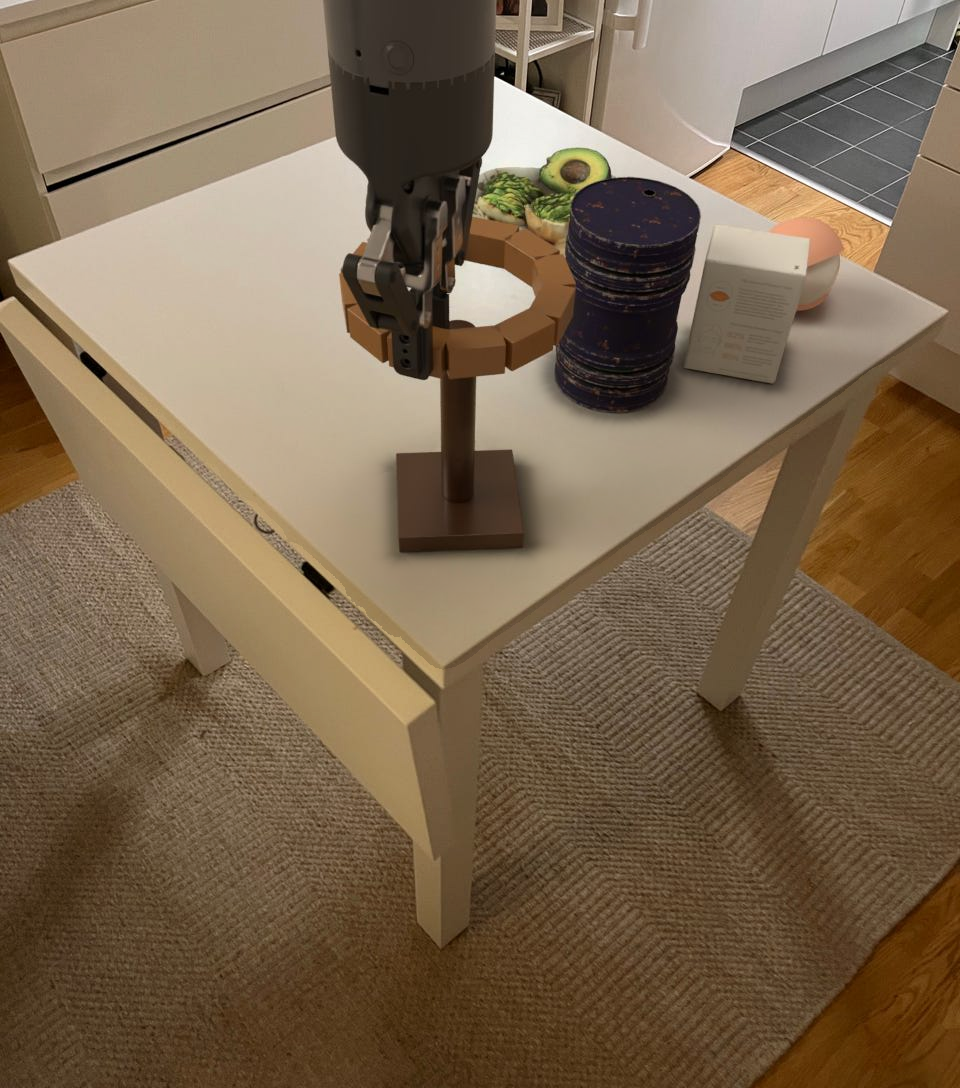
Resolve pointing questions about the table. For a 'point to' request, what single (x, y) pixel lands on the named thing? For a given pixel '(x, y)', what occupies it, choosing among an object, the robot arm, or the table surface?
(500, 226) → the ring
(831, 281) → the toy ball
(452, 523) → the peg
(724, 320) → the small box
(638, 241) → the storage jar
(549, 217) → the avocado toast plate
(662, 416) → the table surface
